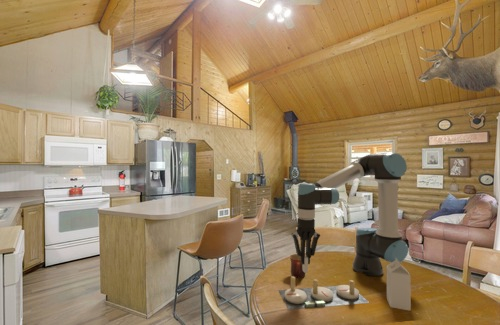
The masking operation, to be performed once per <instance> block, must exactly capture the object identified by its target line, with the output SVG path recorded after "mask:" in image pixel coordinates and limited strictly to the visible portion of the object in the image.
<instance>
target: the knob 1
mask: <svg viewBox="0 0 500 325" xmlns="http://www.w3.org/2000/svg"><path fill="white" fill-rule="evenodd" d="M300 289H301V288H296V277H294V276H291V275H290V288H288V289H285V290H286V291H285V299H286V300H287V301H288V302H290V303H294V304H302V303H304V302H306V300H307V295H306V293H305V292H304V291H302V290H300Z"/></svg>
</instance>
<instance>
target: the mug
mask: <svg viewBox="0 0 500 325" xmlns="http://www.w3.org/2000/svg"><path fill="white" fill-rule="evenodd" d="M289 259H290V277H291V276H294V277H295V278H296V279H297V278H299V279H300V278H305V277H306V273H304V271H303V270H302V266H303V265H302V264H301V256H299V255H298V254H297V253H293V254H290V255H289Z"/></svg>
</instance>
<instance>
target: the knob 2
mask: <svg viewBox="0 0 500 325" xmlns="http://www.w3.org/2000/svg"><path fill="white" fill-rule="evenodd" d="M348 285H349V286H348ZM336 286H337V288H336V292H337V294H338V295H339V296H341V297H343V298H346V299H357V298H358V297H359V294H360V291H359V289H357V288H356V287H355V280H353V279H349V284H340V285H336Z"/></svg>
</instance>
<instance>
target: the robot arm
mask: <svg viewBox="0 0 500 325" xmlns="http://www.w3.org/2000/svg"><path fill="white" fill-rule="evenodd" d="M407 168H408V166H407V161H406V160H405V158H404V157H403V156H402V155H401V154H400V153H397V152H384V153H383V152H382V153H370V154H367V155H365V156H362V157H360V158H358V159H356V160H354V161H352V162H350V164H349V165H348V166H346V167H344V168H341V169H340V170H338V171H336V172H333V173H331V174H330V175H328V176H325V177H324V178H322V179H320V180H318V181H316V182H313V183H303V182H302V183H299V184H298V188H297V217H298V218H297V225H296V226H297V228H296V231H295V232H294V233H293V232H292V233H290V234H291V235H290V236H291V237H292V238H293V241H294V242H293V243H294V247H295V251H296V253H295V254H298V255H299V256H301V264H302V265H303V266H302V270H303V271H304V273H305V274H306V273H309V265H310V263H311V258H312V257H313V256H315V254H316V249H317V246H318V241H319V238H320V237H321V234H320V233H318V232H316V229H315V227H316V226H315V224H316V223H315V222H316V220H315V218H316V206H317V205H331V206H332V205H336V204H337V203H338V202H339V200H340V192H339V190H338V188H340V187H342V186H344V185H346V184H348V183H349V182H351V181H353V180H355V179H357V178H358V179H361V178H363V177H368V176H374V180H375V181H376V182H377V199H378V200H377V202H378V205H377V206H378V207H377V208H378V209H377V210H378V211H377V212H378V228H375V227H373V228H372V227H361V228H357V229H356V232H355V233H356V234H355V252H356V253H355V257H354V259H353V261H352V269H353V270H354V271H355V272H357V273H362V274H364V276H371V277H380V276H382V275H383V274H384V269H383V268H384V267H383V265H382V262H381V260H380V259H382V260H384V261H386V262H388V263H391V262H393V261H395V260H396V258H397V259H398V261H399V262H400V263H402V262H403V261H404V260H405V259H406V257H407V256H408V253H409V246H408V244H407V243H406V241H404V240H403V235H402V233H400V232H399V198H398V197H399V196H398V193H399V192H398V190H399V189H398V185H399V184H398V183H399V182H401V181H402V176H404V175H405V174H406V172H407V170H408V169H407ZM298 237H299V238H300V239H299V238H298ZM299 241H300V243H299ZM379 275H380V276H379Z"/></svg>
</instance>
